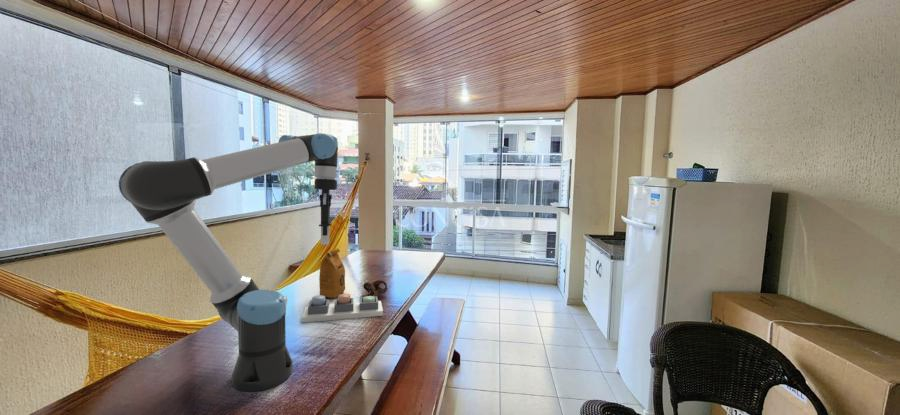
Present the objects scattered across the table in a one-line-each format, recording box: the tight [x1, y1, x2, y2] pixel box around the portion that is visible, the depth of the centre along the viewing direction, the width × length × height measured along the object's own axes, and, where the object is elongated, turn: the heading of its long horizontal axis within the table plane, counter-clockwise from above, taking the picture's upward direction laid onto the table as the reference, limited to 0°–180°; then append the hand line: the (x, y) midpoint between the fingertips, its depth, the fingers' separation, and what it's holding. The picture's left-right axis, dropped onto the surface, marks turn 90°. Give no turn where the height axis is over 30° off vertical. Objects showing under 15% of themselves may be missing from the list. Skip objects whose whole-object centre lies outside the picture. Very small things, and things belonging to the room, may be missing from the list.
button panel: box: [301, 296, 384, 323], centre depth 142 cm, size 31×12×5 cm, turn 106°
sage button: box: [362, 295, 375, 303], centre depth 145 cm, size 5×5×3 cm
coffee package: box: [318, 248, 346, 299], centre depth 163 cm, size 10×12×22 cm
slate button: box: [311, 294, 326, 306], centre depth 139 cm, size 5×5×3 cm
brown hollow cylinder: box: [362, 279, 388, 297], centre depth 165 cm, size 12×10×8 cm
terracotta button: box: [337, 293, 352, 304], centre depth 142 cm, size 5×5×3 cm
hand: (324, 243), depth 122 cm, fingers closed
